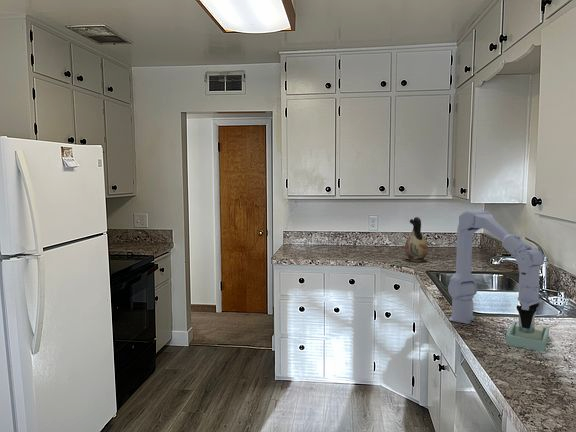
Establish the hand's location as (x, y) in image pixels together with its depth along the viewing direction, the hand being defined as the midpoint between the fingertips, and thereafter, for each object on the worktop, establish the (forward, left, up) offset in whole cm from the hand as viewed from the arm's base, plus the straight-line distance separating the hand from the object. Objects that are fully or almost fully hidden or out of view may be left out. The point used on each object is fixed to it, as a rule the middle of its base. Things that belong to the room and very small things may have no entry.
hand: (527, 325), depth 138 cm
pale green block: (-8, 0, -6) cm, 10 cm away
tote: (-4, 0, -7) cm, 8 cm away
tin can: (0, 0, -2) cm, 2 cm away
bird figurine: (-121, -79, -7) cm, 144 cm away
